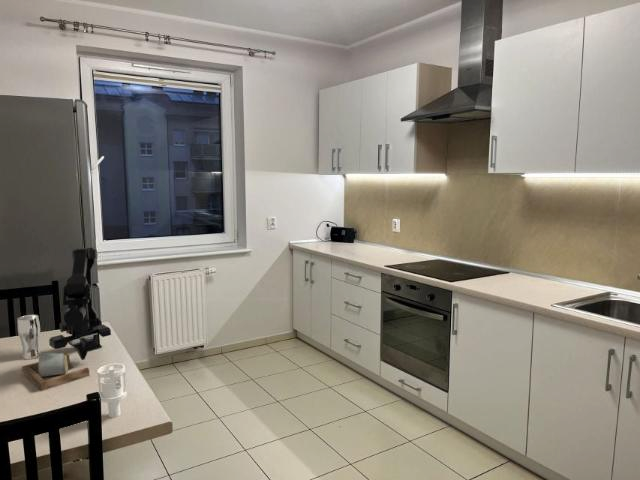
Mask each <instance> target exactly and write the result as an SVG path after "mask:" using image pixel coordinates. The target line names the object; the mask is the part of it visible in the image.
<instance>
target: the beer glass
mask: <svg viewBox="0 0 640 480" xmlns="http://www.w3.org/2000/svg"><path fill="white" fill-rule="evenodd" d="M17 332H18V337H19V340H20V344H21V346H22V353H21V354H22V359H23V360H32V359H36V358H39V357H40V354H42V351H41V348H40V337H41V324H40V319H39V315H38V314H26V315H23V316H20V317H17Z"/></svg>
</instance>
